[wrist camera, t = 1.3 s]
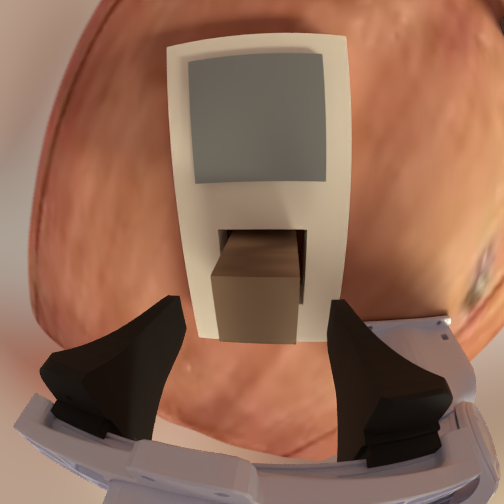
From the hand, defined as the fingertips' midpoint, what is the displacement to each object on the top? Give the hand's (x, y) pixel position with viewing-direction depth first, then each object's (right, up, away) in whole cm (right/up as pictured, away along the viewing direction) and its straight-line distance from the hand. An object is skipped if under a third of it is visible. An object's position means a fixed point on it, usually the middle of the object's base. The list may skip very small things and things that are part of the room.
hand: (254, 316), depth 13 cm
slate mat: (0, +10, +1) cm, 10 cm away
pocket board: (+1, +7, +5) cm, 8 cm away
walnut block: (+1, +3, +7) cm, 7 cm away
